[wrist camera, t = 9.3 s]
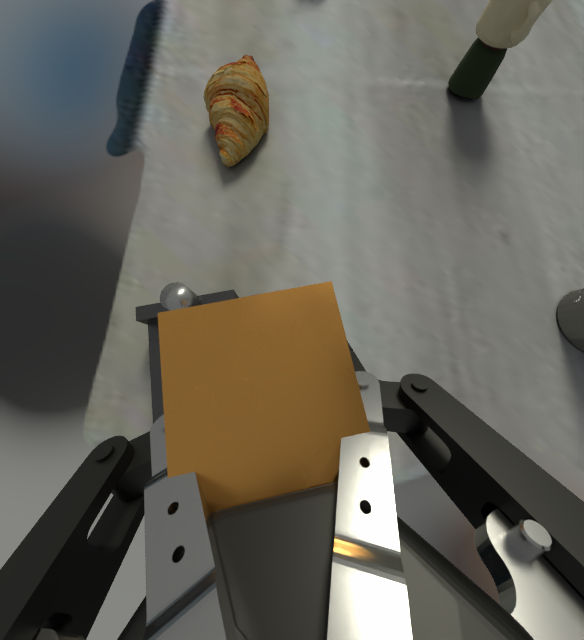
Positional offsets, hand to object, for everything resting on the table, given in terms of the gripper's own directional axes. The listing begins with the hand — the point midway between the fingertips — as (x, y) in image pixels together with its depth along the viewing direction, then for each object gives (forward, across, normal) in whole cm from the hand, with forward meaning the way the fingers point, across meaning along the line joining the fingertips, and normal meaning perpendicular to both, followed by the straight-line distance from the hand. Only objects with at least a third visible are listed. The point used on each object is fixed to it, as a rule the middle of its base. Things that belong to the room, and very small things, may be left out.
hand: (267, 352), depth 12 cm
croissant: (+40, -1, -17) cm, 44 cm away
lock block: (+2, 0, +4) cm, 5 cm away
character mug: (+40, -41, -17) cm, 60 cm away
